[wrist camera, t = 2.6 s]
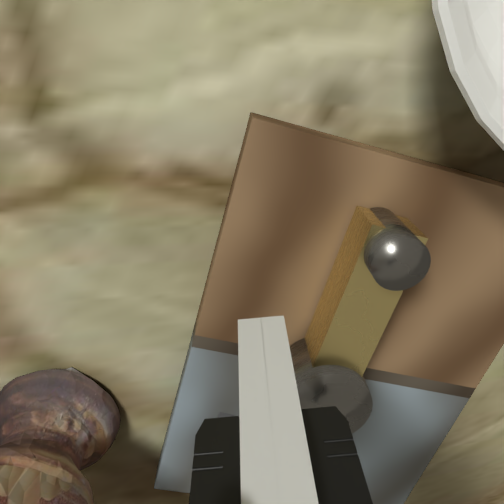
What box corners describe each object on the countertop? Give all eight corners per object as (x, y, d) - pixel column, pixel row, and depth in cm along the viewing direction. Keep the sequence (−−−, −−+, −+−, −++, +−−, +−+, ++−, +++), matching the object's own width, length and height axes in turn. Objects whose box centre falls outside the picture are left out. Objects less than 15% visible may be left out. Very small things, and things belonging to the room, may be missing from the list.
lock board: (157, 466, 30) (146, 535, 26) (250, 112, 20) (257, 130, 16) (385, 498, 33) (409, 565, 29) (564, 199, 23) (638, 234, 19)
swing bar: (339, 403, 26) (356, 455, 23) (267, 390, 25) (274, 442, 22) (426, 218, 21) (462, 251, 18) (340, 196, 20) (362, 226, 17)
